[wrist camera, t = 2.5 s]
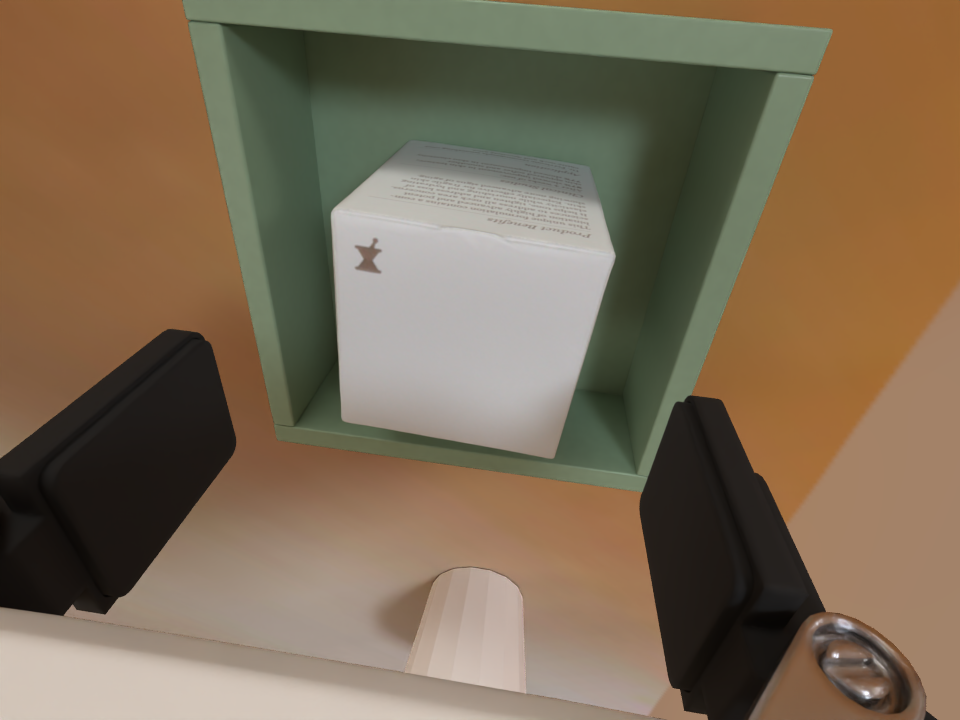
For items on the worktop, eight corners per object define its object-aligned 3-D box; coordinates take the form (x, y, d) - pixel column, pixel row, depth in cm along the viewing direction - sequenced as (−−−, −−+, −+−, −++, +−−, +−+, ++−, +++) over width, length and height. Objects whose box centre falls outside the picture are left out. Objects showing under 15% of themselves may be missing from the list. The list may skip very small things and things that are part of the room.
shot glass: (551, 616, 32) (550, 749, 26) (457, 632, 34) (437, 757, 28) (499, 550, 29) (485, 684, 23) (401, 573, 31) (365, 700, 25)
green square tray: (280, -14, 15) (175, -26, 11) (754, 25, 14) (834, 29, 10) (327, 364, 23) (276, 441, 19) (635, 404, 22) (653, 494, 18)
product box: (401, 300, 20) (332, 424, 14) (408, 133, 16) (321, 201, 10) (556, 327, 20) (556, 466, 14) (597, 164, 16) (622, 252, 10)
